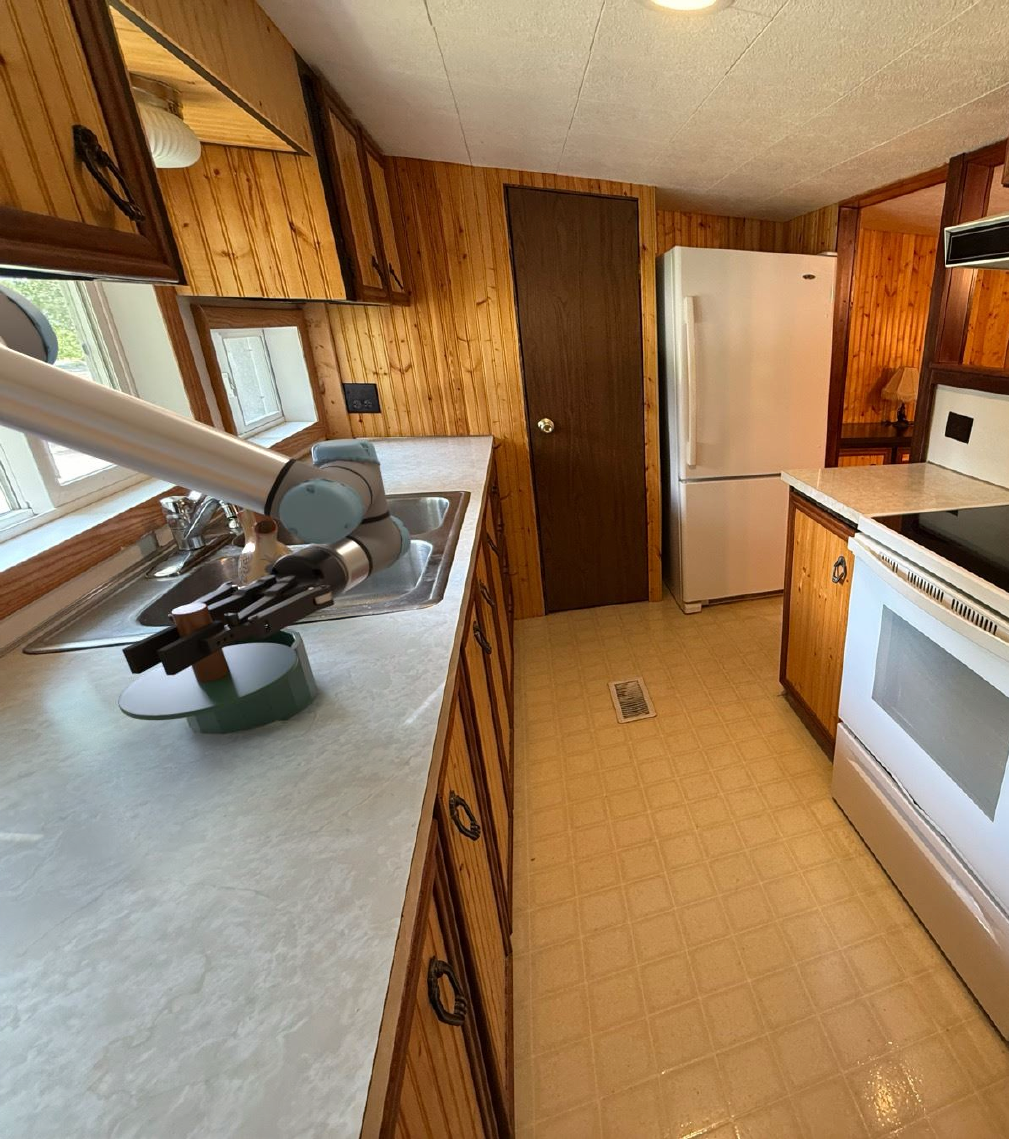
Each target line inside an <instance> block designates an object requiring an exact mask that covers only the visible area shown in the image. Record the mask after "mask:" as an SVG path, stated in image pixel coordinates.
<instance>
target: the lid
mask: <svg viewBox="0 0 1009 1139" xmlns="http://www.w3.org/2000/svg"><path fill="white" fill-rule="evenodd" d="M170 614H172V616H173V619H174V622H175V624H176V627H177V630H178V632H179V635H180V638H183V637H185V636H187V635H189V634H191V633H193V632H195V631H197V630H199V629H201V628H203V627H205V626H207V625H209V624H210V623H212V622H213V621H212V618H211V615H210V612H209V610H208V607H207V605H206V604H204V603H194V604H190V603H189V604H184V605H181V606H178V607H176V608H174V609H172V610H171V613H170ZM297 665H298V656H297V653H296V652H295V650H293V649H292V648H290V647H288V646H286V645H282V644H276V643H248V644H239V645H232V646H226V647H223V648H222V649H220V650H218V651H216V652H214V653H213V654H211V655H209V656H207V657H206V658H204V659H202V660H200V661H199V662H197V663H195V664H193V665H191V666H190V667H188V668H186V669H184V670H183V671H181V672H179V673H177V674H176V675H166V672H165V670H164V667H163V665H162V666H159V667H156V668H155V669H153V670H151V671H149V672H147V673H146V674H143V675H142V676H140V677H139V678H137V679H136V680H133V682H131V683H130V684H128V686H127V687H126V688H124V690H123V691H122V692H121V694H120V695H119V697H118V701H117V702H118V707H119V709H120V711H121V712H122V713H123V714H124V715H125V716H127V717H128V718H132V719H135V720H140V721H170V720H171V721H172V720H178V719H185V718H186V717H191V716H196V715H201V714H205V713H209V712H213V711H217V710H220V709H223V708H226V707H230V706H233V705H235V704H238V703H241V702H243V701H246V700H248V699H251V698H253V697H255V696H257V695H259V694H262V693H264V692H266V691H267V690H269V689H271V688H273V687H274V686H276V685H278V684H279V683H281V682H282V681H283V680H285V679H286V678H287V677H288V676H289V675H290V674H291V673H292V672H293V671H294V670H295V669H296V667H297Z"/></svg>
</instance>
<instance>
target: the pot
mask: <svg viewBox="0 0 1009 1139" xmlns="http://www.w3.org/2000/svg"><path fill="white" fill-rule="evenodd" d="M248 643H276V644H282V645H286V646H288V647H290V648H292V649H293V650H295V652H296V653H297V656H298V665H297V667H296V669H295V670H294V671H293V672H292V673H291V674H290V675H289V676H288V677H287V678H286V679H285V680H283V681H282V682H281V683H279V684H278V685H276V686H274V687H273V688H271V689H269V690H267V691H266V692H264V693H262V694H259V695H257V696H255V697H253V698H251V699H248V700H246V701H243V702H241V703H238V704H235V705H233V706H230V707H226V708H223V709H220V710H217V711H213V712H209V713H205V714H201V715H196V716H191V717H186V722H187V724H188V726H189V728H190V729H191V731H193V732H194V733H196V732H198V733H200V734H204V735H205V734H207V735H226V734H232V733H238V732H243V731H244V732H245V731H249V730H253V729H256V728H259V727H262V726H264V725H265V726H266V725H268V724H271V723H274V722H277V721H287V720H288V719H290V718H292V717H294V716H296V715H298V714H299V713H301V712H302V711H304V710H305V709H306V708H307V707H309V705H311V703H313V701H314V700H315V699H316V697H317V695H318V694H317V693H318V687H317V683H316V680H315V677H314V673H313V670H312V667H311V666H312V665H311V663H310V660H309V656H308V653H307V650H306V646H305V643H304V639H303V637H302V635H301V633H300V632H299V631H296V630H294V629H291V628H287V627H285V628H284V629H282V630H280V631H278V632H276V633H274V634H272V635H270V636H268V637H266V638H264V639H262V640H255V639H254V637H253V636H250V637H249V638H247V639H246V640H244V641H241V642H232V643H230V644H229V645H227V646H232V645H239V644H248ZM225 647H226V646H225Z"/></svg>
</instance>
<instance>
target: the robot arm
mask: <svg viewBox="0 0 1009 1139" xmlns="http://www.w3.org/2000/svg"><path fill="white" fill-rule="evenodd" d="M58 355H59V342H58V337H57V334H56V332H55V331H54V330H53V327H52V325H51V323H50V321H49V319H48V318H47V317H46V316H45V314H44V313H43V312H42V311H41V310H40V309H39V307H37V306H36V305H35V304H34V303H33V302H31V301H30V299H28V298H27V297H25V296H23V295H22V294H20V293H18V292H17V291H15V290H14V289H12V288H10V287H9V286H6V285H4V284H1V283H0V426H1V427H4V428H7V429H10V430H13V431H16V432H19V433H22V434H24V435H27V436H30V437H33V438H36V439H39V440H42V441H46V442H48V443H51V444H54V445H57V446H60V447H63V448H65V449H69V450H73V451H74V452H78V453H81V454H84V455H87V456H90V457H92V458H95V459H98V460H100V461H101V460H102V461H105V462H106V463H110V464H114V465H116V466H118V467H122V468H125V469H127V470H131V471H134V472H137V473H139V474H142V475H145V476H149V477H150V478H154V479H158V480H160V481H163V482H166V483H168V484H169V483H170V484H172V485H175V486H178V487H181V488H184V489H187V490H190V491H193V492H195V493H199V494H202V495H205V496H208V497H211V498H214V499H217V500H219V501H223V502H225V503H229V504H231V505H234V506H237V507H240V508H242V509H243V508H246V509H249V510H252V511H255V512H258V513H260V514H263V515H266V516H269V517H272V519H275V520H278V521H281V524H282V526H283V527H284V528H285V529H286V530H287V531H288V532H289V533H290V534H291V535H292V536H293V537H295V538H297V539H298V540H300V541H302V542H305V543H308V544H307V545H305V546H303V547H302V548H299V549H297V550H295V551H293V552H292V553H290V554H288V555H286V556H284V557H282V558H280V559H279V560H278V561H277V562H276V563H275V564H274V566H273V568H272V571H271V573H270V575H268V576H265V577H262V578H260V579H258V580H256V581H254V582H252V583H251V584H250V585H248V586H243V587H242V586H239V585H238V584H237V583H236V581H226V582H224V583H223V584H221V585H220V587H218V588H217V589H216V590H214V591H212V592H209V593H208V594H206V595H204V596H201V597H199V598H198V599H196V600H194V601H192V602H191V603H189V604H194V603H204V604H206V605H207V607H208V610H209V612H210V615H211V618H212V621H213V622H212V623H210V624H209V625H207V626H205V627H203V628H201V629H199V630H197V631H195V632H193V633H191V634H189V635H187V636H185V637H183V638H180V635H179V632H178V630H177V627H176V624H175V622H174V619H173V616H172V614H171V613H169V614H168V615H167V619H168V621H169V624H170V626H168V627H166V628H164V629H162V630H159V631H158V632H155V633H153V634H150V635H149V636H148V637H144V638H143V639H141V640H139V641H137V642H134V643H133V644H130V645H128V646H126V647H124V648H121V651H122V653H123V656H124V658H125V660H126V662H127V665H128V667H129V670H130V672H131V674H132V675H140V674H143V673H144V672H146V671H148V670H150V669H152V668H153V667H155V666H157V665H159V664H162V666H163V667H164V670H165V672H166V675H176V674H177V673H179V672H181V671H183V670H184V669H186V668H188V667H190V666H191V665H193V664H195V663H197V662H199V661H200V660H202V659H204V658H206V657H207V656H209V655H211V654H213V653H214V652H216V651H218V650H220V649H222V648H223V647H225V646H227V645H229V644H230V643H232V642H241V641H244V640H246V639H247V638H249V637H250V636H253V637H254V639H255V640H262V639H264V638H266V637H268V636H270V635H272V634H274V633H276V632H278V631H280V630H282V629H284V628H287V627H289V626H291V625H293V624H295V623H297V622H299V621H301V620H303V619H304V618H307V617H309V616H310V615H312V614H314V613H316V612H318V611H321V610H324V609H327V608H329V607H332V606H334V605H335V601H334V600H335V599H336V598H338V597H340V596H341V595H345V594H347V591H349V590H350V589H352V588H355V586H357V585H359V584H361V583H362V582H364V581H366V580H369V578H372V577H373V576H375V575H377V574H379V572H382V571H384V570H385V569H389V568H390V567H391V566H393V565H394V564H396V563H397V562H398V561H399V560H401V559H403V557H404V556H405V555H406V554H407V553H408V551H409V550H410V548H411V543H412V539H411V538H412V537H411V534H410V532H409V529H408V528H407V527H406V526H405V525H404V522H403V521H401V519H399V518H397V517H395V516H394V515H391V513H390V509H389V505H388V501H387V495H386V490H385V485H384V481H383V476H382V471H381V462H380V461H379V458H378V455H377V452H376V448H375V445H374V443H372V442H371V441H369V440H366V439H362V438H361V439H360V438H340V439H332V440H331V439H330V440H325V441H320V442H317V443H315V444H313V446H312V447H311V454H312V455H311V456H312V461H313V462H312V464H309V463H306V462H303V461H300V460H298V459H295V458H293V457H291V456H290V455H286V454H283V453H281V452H279V451H276V450H273V449H271V448H268V447H266V446H264V445H263V446H262V445H260V444H257V443H256V442H253V441H250V440H247V439H245V438H242V437H240V436H237V435H235V434H231V433H229V432H227V431H223V430H221V429H219V428H216V427H214V426H211V425H208V424H206V423H203V422H200V421H198V420H196V419H193V418H190V417H188V416H185V415H183V414H180V413H178V412H175V411H172V410H170V409H166V407H165V408H164V407H162V406H160V405H157V404H154V403H152V402H149V401H146V400H144V399H141V398H138V397H135V396H133V395H131V394H129V393H126V392H123V391H120V390H118V389H115V388H112V387H111V386H107V385H104V384H102V383H100V382H97V381H95V380H92V379H89V378H87V377H84V376H81V375H79V374H76V373H73V372H71V371H68V370H66V369H63V368H60V367H58V366H56V365H55V363H56V361H57V359H58V357H59V356H58Z"/></svg>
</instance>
